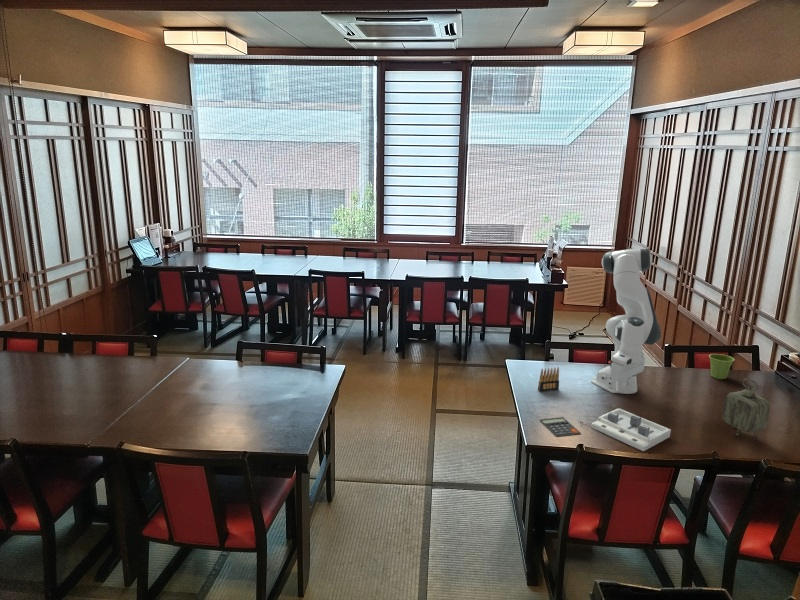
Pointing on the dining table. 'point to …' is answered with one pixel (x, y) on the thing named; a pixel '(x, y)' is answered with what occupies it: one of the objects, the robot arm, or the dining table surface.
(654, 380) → the dining table surface
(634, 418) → the tab
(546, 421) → the calculator
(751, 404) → the tabletop clock
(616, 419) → the tab
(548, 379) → the ammunition clip
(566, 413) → the dining table surface
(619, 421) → the switch bank
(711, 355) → the plant pot
